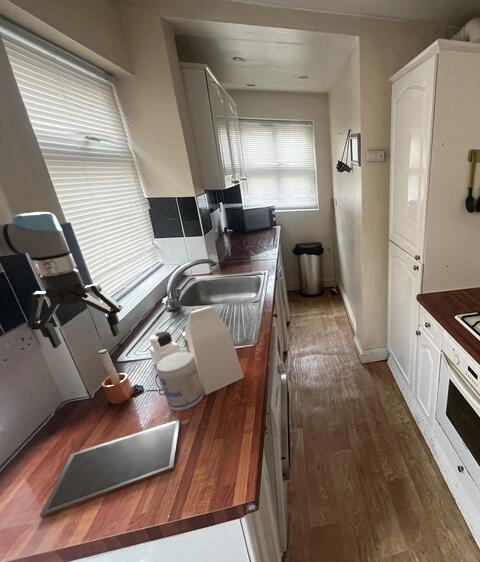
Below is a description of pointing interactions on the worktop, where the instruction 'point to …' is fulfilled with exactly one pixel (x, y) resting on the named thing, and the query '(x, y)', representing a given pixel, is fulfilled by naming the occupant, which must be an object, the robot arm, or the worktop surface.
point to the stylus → (109, 366)
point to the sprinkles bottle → (186, 341)
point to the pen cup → (118, 389)
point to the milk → (212, 349)
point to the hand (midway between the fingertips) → (87, 339)
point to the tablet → (114, 467)
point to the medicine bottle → (162, 346)
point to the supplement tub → (180, 380)
